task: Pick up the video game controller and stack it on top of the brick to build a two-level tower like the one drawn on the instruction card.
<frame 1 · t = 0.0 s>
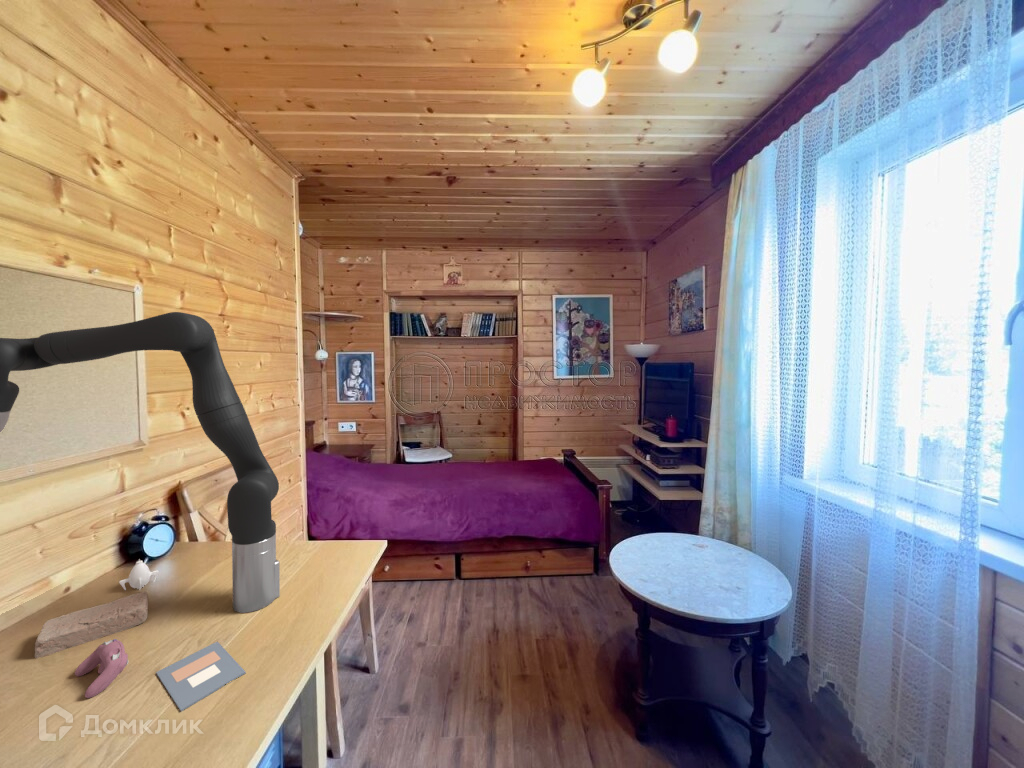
brick: (96, 632, 84), on the table
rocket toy: (140, 588, 100), on the table
instruction card: (201, 673, 74), on the table
video game controller: (102, 679, 72), on the table
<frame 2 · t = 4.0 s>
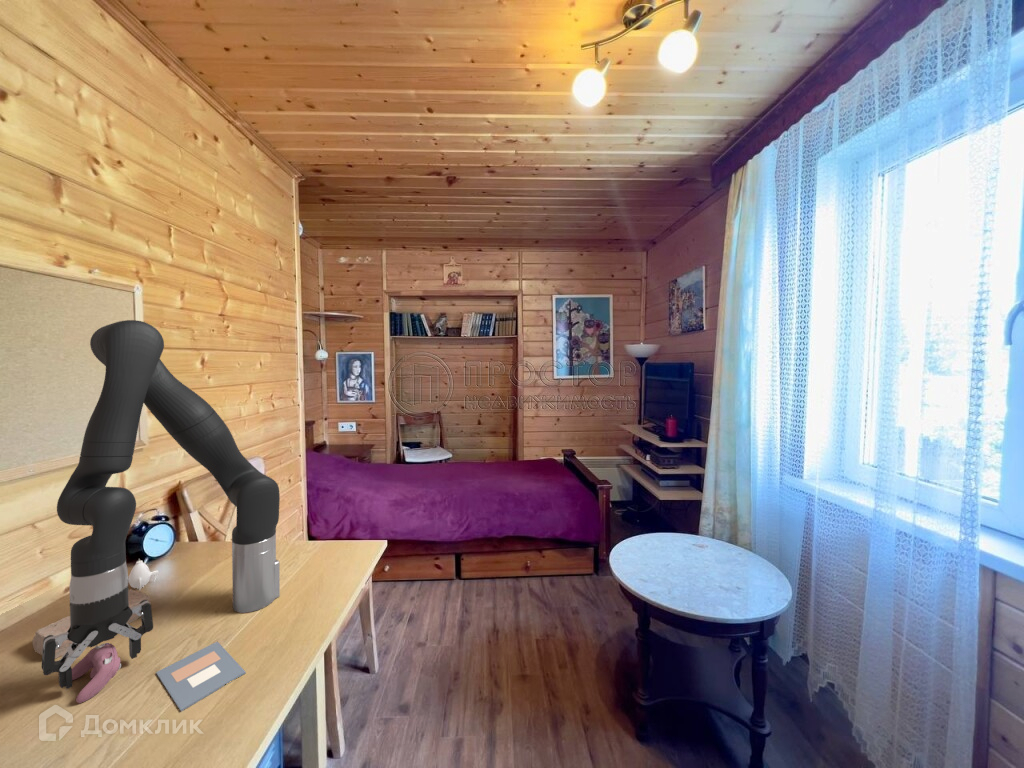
hand: (102, 670, 72), 1 cm above the table, tool pointing down, fingers open, 8 cm apart
video game controller: (94, 683, 71), on the table, touching gripper
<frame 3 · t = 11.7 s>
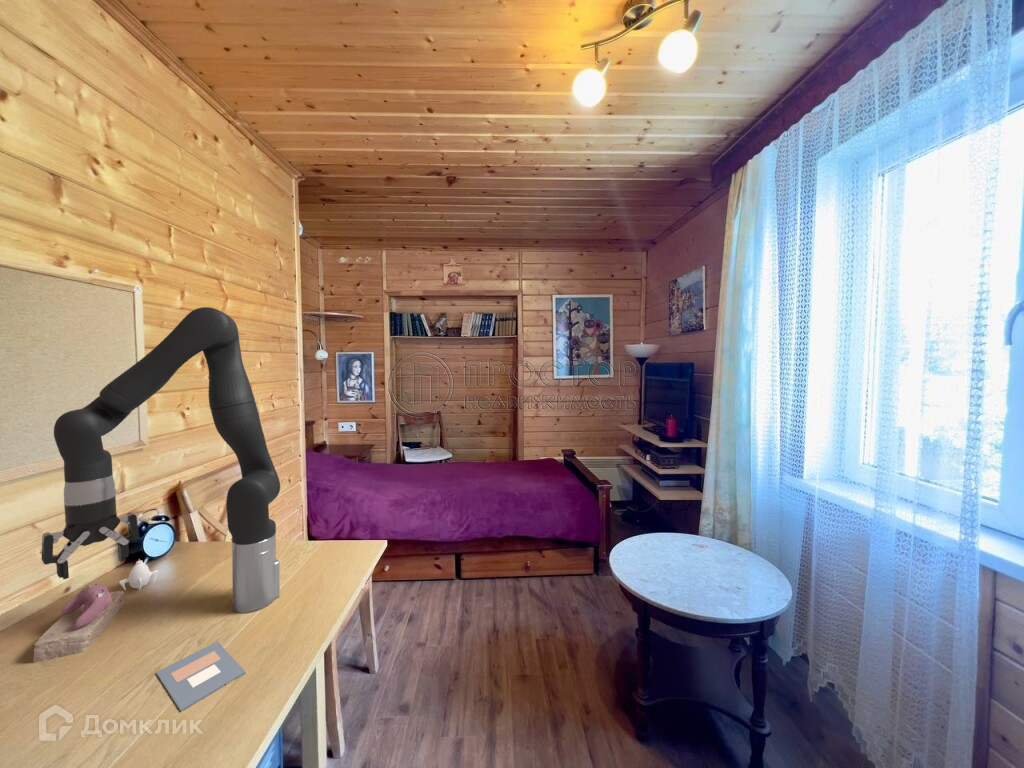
hand: (94, 568, 83), 15 cm above the table, tool pointing down, fingers open, 8 cm apart
brick: (83, 634, 84), on the table
video game controller: (87, 615, 84), point 4 cm above the table
everything else where it was.
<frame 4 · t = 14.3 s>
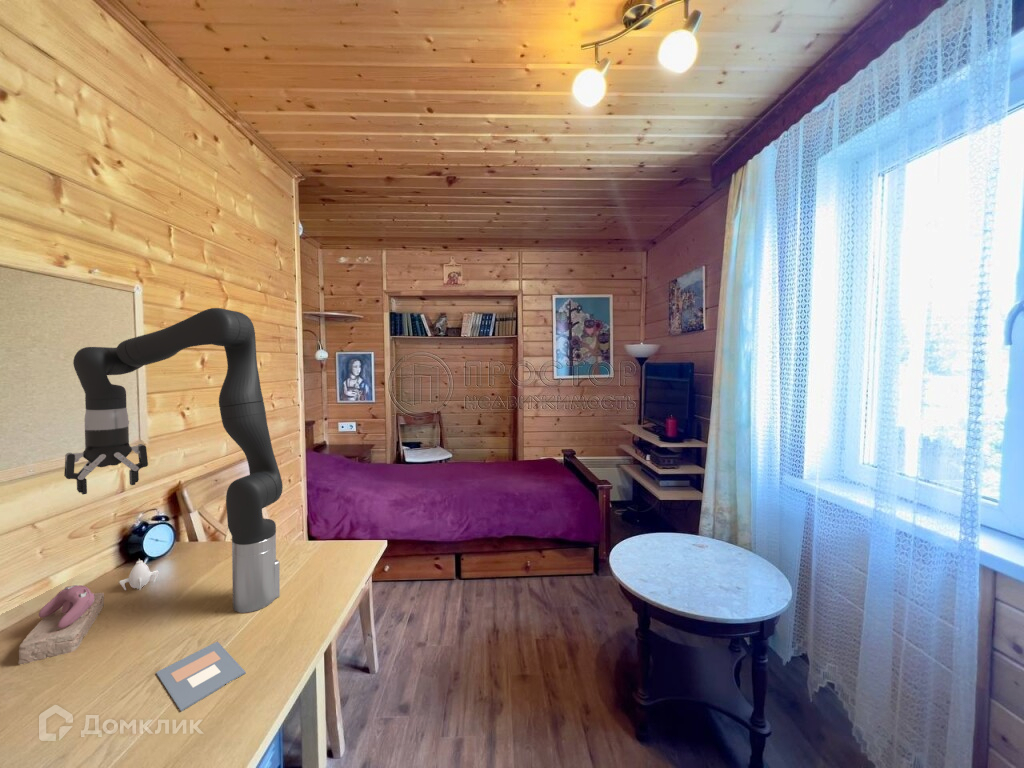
hand: (109, 488, 95), 28 cm above the table, tool pointing down, fingers open, 8 cm apart
brick: (65, 636, 83), on the table, touching video game controller
video game controller: (68, 617, 83), point 4 cm above the table, touching brick
everything else where it was.
at the end: video game controller inside the target area on the brick (1.0 cm from its centre), point 4.6 cm above the brick's base; video game controller touching brick; the gripper is holding nothing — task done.
